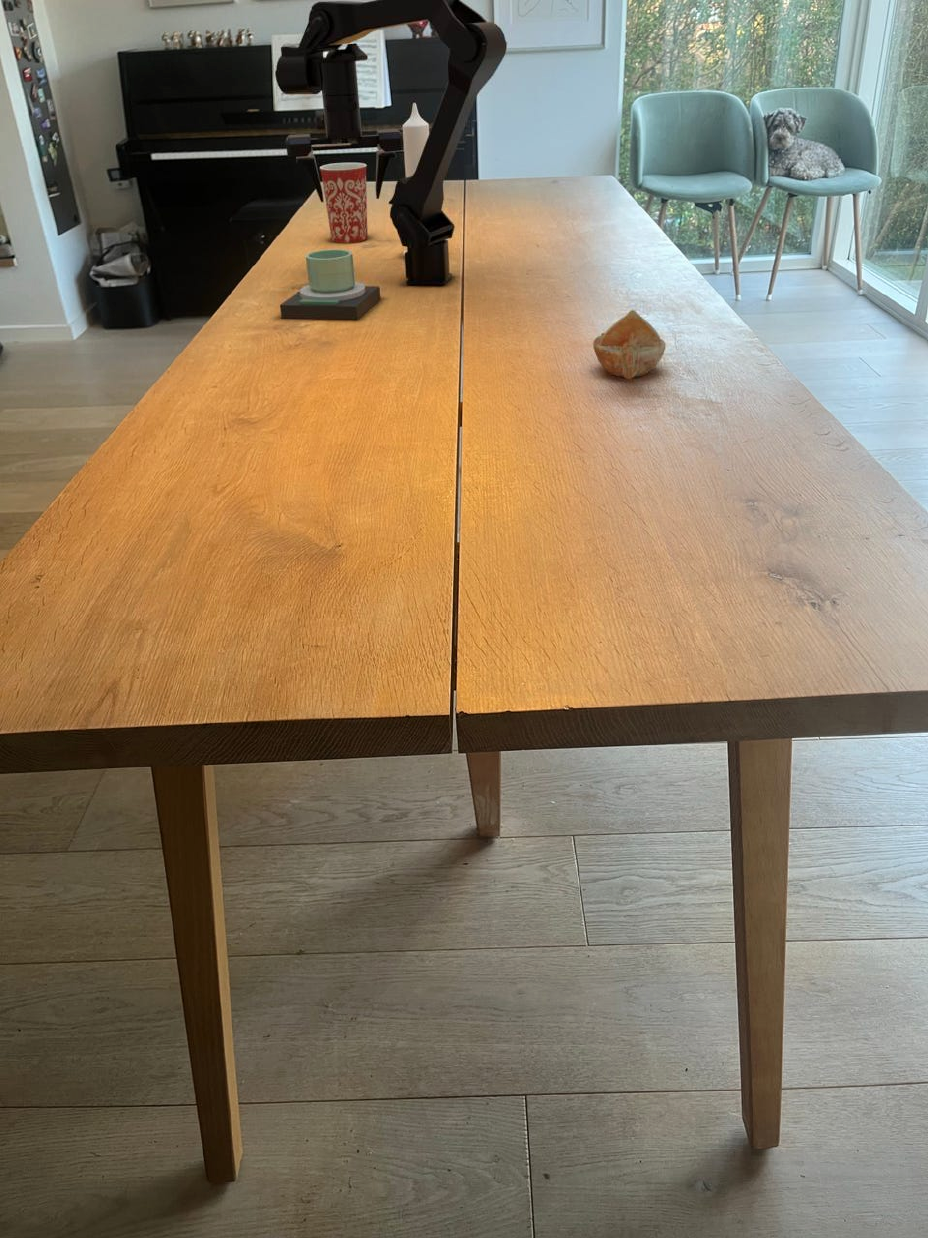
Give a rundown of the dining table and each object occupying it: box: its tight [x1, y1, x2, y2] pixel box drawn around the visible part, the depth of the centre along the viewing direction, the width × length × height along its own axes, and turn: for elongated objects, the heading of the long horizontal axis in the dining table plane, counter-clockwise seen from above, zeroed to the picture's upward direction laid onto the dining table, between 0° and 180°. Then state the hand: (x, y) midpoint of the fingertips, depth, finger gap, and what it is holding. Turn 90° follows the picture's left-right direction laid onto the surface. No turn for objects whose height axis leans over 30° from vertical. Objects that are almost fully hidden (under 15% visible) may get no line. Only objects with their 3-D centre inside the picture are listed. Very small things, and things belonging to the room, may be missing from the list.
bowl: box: [305, 248, 356, 293], centre depth 150 cm, size 7×7×5 cm
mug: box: [319, 162, 369, 244], centre depth 195 cm, size 13×9×14 cm
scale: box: [279, 281, 381, 321], centre depth 151 cm, size 12×12×3 cm
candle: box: [402, 102, 430, 258], centre depth 175 cm, size 7×7×25 cm
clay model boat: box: [592, 309, 666, 380], centre depth 119 cm, size 9×21×10 cm, turn 173°
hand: (350, 200), depth 164 cm, fingers open, 9 cm apart
